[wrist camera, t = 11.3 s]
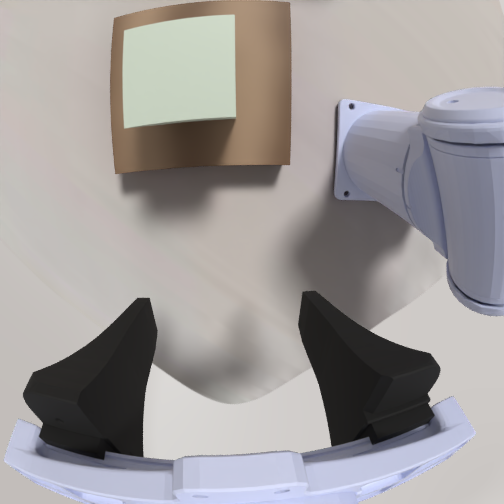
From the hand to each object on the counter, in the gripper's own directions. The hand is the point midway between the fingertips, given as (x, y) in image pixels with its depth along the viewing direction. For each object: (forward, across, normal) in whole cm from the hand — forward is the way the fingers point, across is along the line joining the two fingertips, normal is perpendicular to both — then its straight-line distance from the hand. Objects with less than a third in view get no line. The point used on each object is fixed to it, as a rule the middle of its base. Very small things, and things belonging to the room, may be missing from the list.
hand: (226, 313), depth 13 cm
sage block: (+8, +2, -11) cm, 14 cm away
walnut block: (+11, +2, -12) cm, 16 cm away
